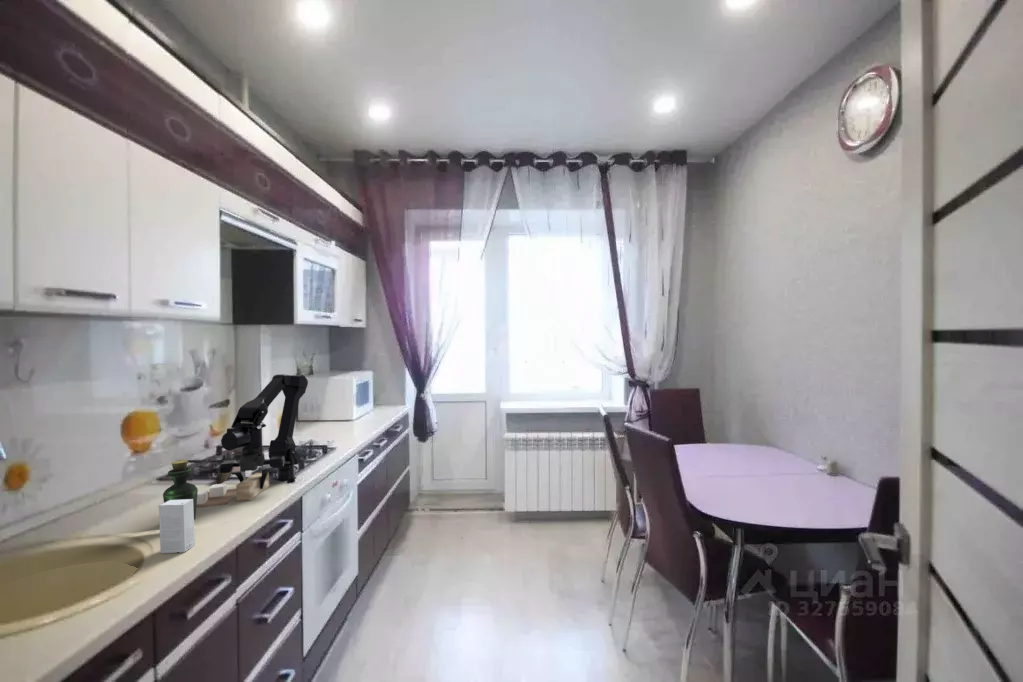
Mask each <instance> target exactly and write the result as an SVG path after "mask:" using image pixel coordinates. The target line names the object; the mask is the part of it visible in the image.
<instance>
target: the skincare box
mask: <svg viewBox="0 0 1023 682" xmlns="http://www.w3.org/2000/svg"><path fill="white" fill-rule="evenodd" d="M158 517H159V521H158V522H159V545H160V546H159V547H160V551H159V552H160V554H175V553H177V552H179V553H186V552H188V551H189V550H190V549H192V548H193V547H194V546H195V544H196V539H195V520H194V508H193V499H185V500H169V501H167V502H165V503H164V502H163V503H161V504H159V505H158ZM188 549H189V550H188ZM185 551H186V552H185Z"/></svg>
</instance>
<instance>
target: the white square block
mask: <svg viewBox="0 0 1023 682" xmlns="http://www.w3.org/2000/svg"><path fill="white" fill-rule="evenodd" d="M208 492H209V490H207V489H205V490H198V492H197V504H204V503H205V502H206V501H207V500H208Z"/></svg>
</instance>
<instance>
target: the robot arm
mask: <svg viewBox="0 0 1023 682" xmlns="http://www.w3.org/2000/svg"><path fill="white" fill-rule="evenodd" d="M308 385H309V381H308V379H307V378H306V376H305V375H301V374H300V375H296V374H293V375H292V374H291V375H290V374H289V375H288V374H284V373H283V374H275V375H273V376H272V378H271V380H270V381H269V382H268V384H267V385H265V387H264V388H263V389H262V390H261V392H259V394H258V395H257V396H256V397H255V398H254V399H251V400H248V401H247V402H245V403H244V404H243V405H241V407H239V409H238V411H237V414H236V415H235V418H234V421H233V422H232V424H231V427H228V428H226V433H224V434H223V435H222V437H221V438H220V442H221V443H220V444H221V446H222V447H223V449H224V450H226V451H234V450H236V449H240V448H242V449H241V450H242V453H241V456H240V459H239V462H237V460H236V459H231V460H230V459H229V460H224V461H223V462H222V463H220V464H219V466H218V473H230V472H231V471H232V473H231V474H232V475H234V476H236V477H237V479H238V481H239V483H241V482H242V481H244V480H245V479H247V477H246V471H247V472H249V471H252V472H253V471H256V470H258V467H263V468H262V469H261V472H262V478H261V489H263V486H264V483H265V480H266V477H267V474H268V472H269V473H270V472H271V471H272V470H273V469H276V471H277V474H276V476H277V478H276V479H277V480H278V481H280V482H286V483H292V482H291V481H294V482H296V480H295V479H297V477H295V476H296V474H295V466H296V465H299V463H300V462H301V455H300V454H299V453H298V452H297V451H296V443H295V439H294V438H293V437H294V436H293V435H294V431H295V426H296V421H297V420H296V419H297V414H298V408H299V404H300V403H299V402H300V400H301V398H302V397H303V396H304V395H305V393H306V391H307V388H308ZM281 392H282V393H283V396H284V402H283V407H282V412H281V417H280V423H279V428H278V431H277V432H278V434H277V436H276V437H275V439H271V440H270V442H269V448H268V450H267V452H268V459H265V458H266V457H265V454H264V453H263V428H267V427H266V426H267V425H266V424H265V423H264V422H263V421H264V420H265V417H266V416H267V415H268V413H269V406H270V405H271V404H272V403H273V401H274V400H275V399H276V398H277V396H279V395H280V393H281ZM232 475H231V476H232Z"/></svg>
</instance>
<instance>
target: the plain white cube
mask: <svg viewBox="0 0 1023 682" xmlns="http://www.w3.org/2000/svg"><path fill="white" fill-rule="evenodd" d="M208 488H209V489H208V492H209V498H210V497H219V496H224V495H225V493H226V492H227V490H228V489H227V482H226V483H225V482H223V483H221V484H218V483H216V484H211V486H210V487H208Z"/></svg>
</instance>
